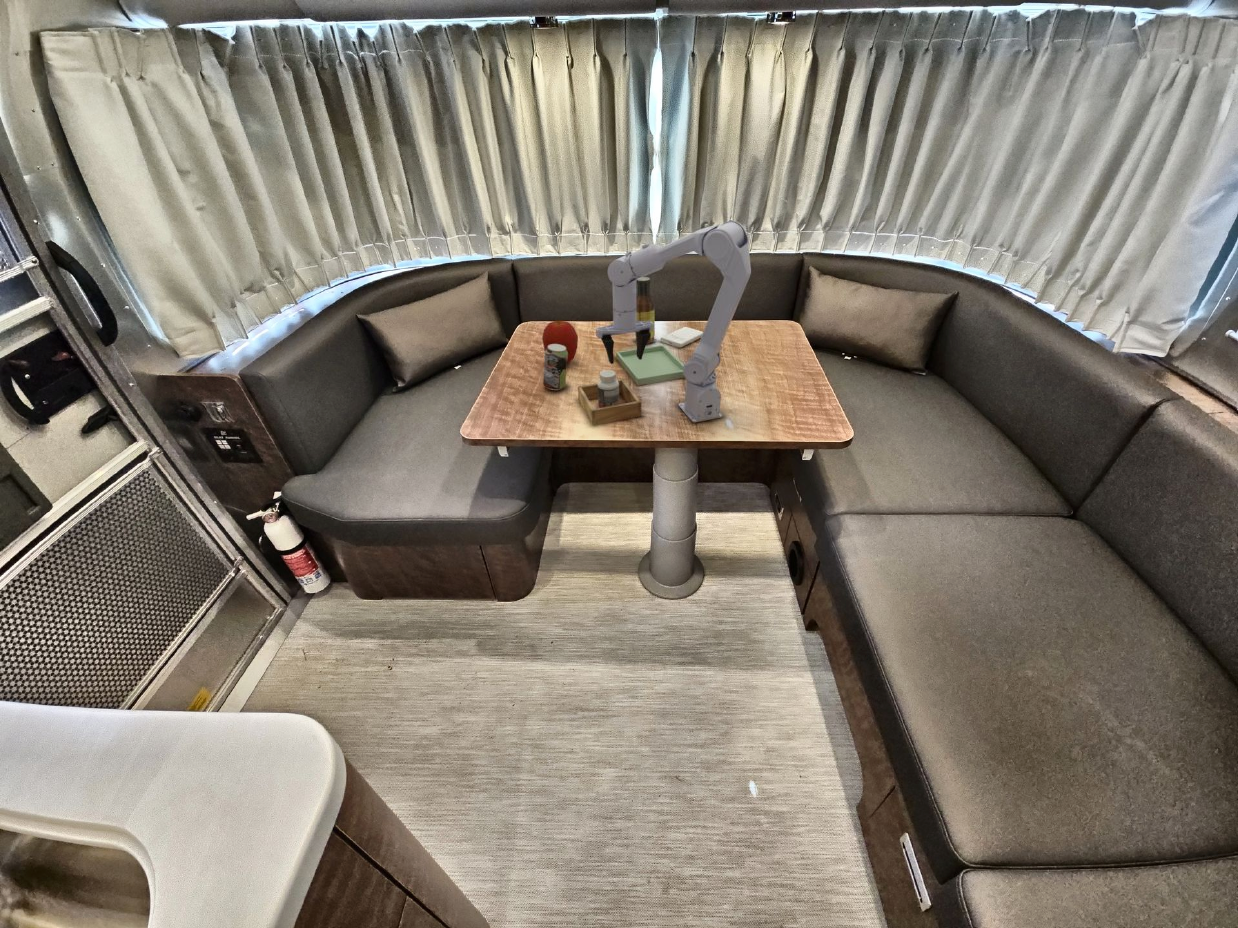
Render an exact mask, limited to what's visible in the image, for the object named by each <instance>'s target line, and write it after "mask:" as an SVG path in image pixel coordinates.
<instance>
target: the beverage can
mask: <svg viewBox="0 0 1238 928" xmlns="http://www.w3.org/2000/svg"><path fill="white" fill-rule="evenodd" d="M567 359H568V352H567V350H566V347H565V346H563V345H560V344H550V345H548V348H547V349H546V350H544V364H543V378H542V379H543V381H542V384H543V386H544V387H546V389H548V390H551V391H559V390H562V389H563V388H565V387H566V382H567V381H566V380H567V369H568V364H567Z"/></svg>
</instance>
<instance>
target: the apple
mask: <svg viewBox="0 0 1238 928" xmlns="http://www.w3.org/2000/svg"><path fill="white" fill-rule="evenodd" d="M541 339H542V344H543V349H544V351H545V350H546V349H547V348H548V345H550V344H560V345H563V346H565V347H566V350H567V352H568V359H567V365H568V364H569V363H571V362H572V361H574V359H575V357H576V354H577V350H578V345H579V343H578V342H579V336H578V333H577V331H576V329H575V327H574V325H572V324H571V323H570V322H569V321H564V320H559V319H557V320H553V321H551V322H548V324H547V325H546V326H545V327H544V328H543V333H542V337H541Z"/></svg>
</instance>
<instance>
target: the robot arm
mask: <svg viewBox="0 0 1238 928" xmlns="http://www.w3.org/2000/svg"><path fill="white" fill-rule="evenodd" d="M750 239H751V238H750V236H749V234H748V233H747V231H746V229H745V227H744V225H742V224H741V223H740V221H737V220H727V221H725V222H723V223H722V224H721V225H720V223H717V224H714V225H710V226H707V227H703V228H700V229H698V230H695V231H693V232H692V233H691V232H690V233H689V234H687V235H685V236H682V237H680V238H678V239H676V240H674V241H672V242H669V243H668V244H665V245H663V246H661V245H658V244H657V243H651V244H650V242H647V243H645V244H642V245H641V248H640V249H638V250H635V251H633V252H632V251H627V252H625V254H624V255H623V256H621V257H619V258H617V259H614V260H613V261H612V262H611V263H610V264H609V265H608V267H607V277H608V279H609V281H610V282H611V283H612V285H611V286H612V321H613V323H612V324H608V325H605V326H601V327H596V328H595V336H596V338H597V339H600V340H601V342H602V344H603V346H604V349H605V351H606V354H607V359H608V362H609V363H610V365H614V364H615V359H614V356H615V355H614V347H615V341H614V339H613V337H612V336H619V335H626V334H633V333H635V332H636V336H635V340H636V339H637V341H636V349H637V357H638V359H639V360H641V359H642V356H643V352H644V349H645V347H647V345H648V344H647V342H648V341H649V339H650V337H651V333H650V332H649V331H653V328H654V324H653V323H652V322H651V321H644V322H636V297H637V279H638V278H641V277H647V276H648V275H651V274H653V273H656V272H659V271H661V270H662V269H663V268H664V267H665V265H666V262H667V261H670V260H673V259H676V258H679V257H681V256H685V255H687V254H689V253H692V252H694V253H696V254H697V255H699V256H701V257H702V256H704V255H705V256H706V257H707V259H708V260H709V261H710V262H711V263H712V264H713V265H714V266H716V268H717V269H718V270H719V271H720V273H721V275H722V276H723V280H722V283H721V285H720V288H719V291H718V294H717V296H716V298H715V301H714V303H713V306H712V309H711V312H710V314H709V316H708V319H707V321H706V324H705V327H704V330H703V331H702V332H703V334H702V337H701V338H699V339H700V340H699V342H698V344H697V345H696V347H695V348H694V350H693V352H692V354H691V357H690V358H689V359H688V360H687V361H686V362H684V363H683V364H684V366H683V374H684V376H685V378H684V379H685V388H684V389H685V391H684V394H685V395H684V402H680V403H677V404H678V405H677V406H678V407H679V409H681V410H682V412H683V413H684V414H685V415H686V416H687V418H689V420H690V421H691V422H692V423H699V422H705V421H711V420H716V419H721V418H723V414H722V413H721V412H720V410H721V401H722V395H721V391H720V390H719V389H718V387H717V374H716V369H717V368H718V367H719V366H720V364H721V351H722V349H723V346H722V344H723V341H724V339H725V337H726V335H727V332H728V330H729V328H730V325H731V323H732V321H733V318H734V315H735V313H736V310H737V308H738V305H739V303H740V302H741V299H742V296H743V294H744V291H745V289H746V288H747V287H746V286H747V285H748V282H749V280H750V277H751V274H752V267H751V257H750V249H749V248H750V241H751V240H750Z"/></svg>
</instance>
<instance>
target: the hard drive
mask: <svg viewBox="0 0 1238 928" xmlns="http://www.w3.org/2000/svg"><path fill="white" fill-rule="evenodd" d="M703 332H704V331H701V330H698V329H694V328H691V327H689V326H682V327H681V328H679V329H677V330H675V331H673V332H670V333H668V334H666V335H663V336H662V337H660V342H661V343H664V344H667V345H669V346H672V347H675V348H679V349H680V348H683V347H685V346H687V345H689V344H691V343H693V342H695V341H698V340H699V339H701V337H702V334H703Z"/></svg>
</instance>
